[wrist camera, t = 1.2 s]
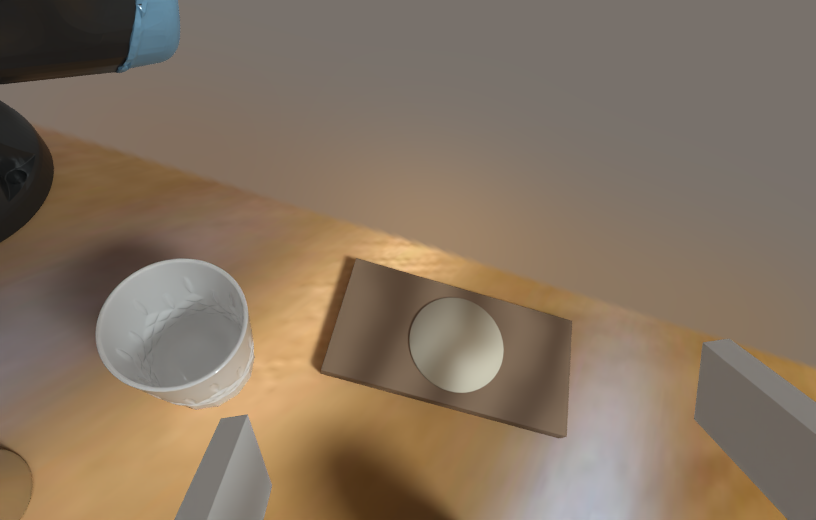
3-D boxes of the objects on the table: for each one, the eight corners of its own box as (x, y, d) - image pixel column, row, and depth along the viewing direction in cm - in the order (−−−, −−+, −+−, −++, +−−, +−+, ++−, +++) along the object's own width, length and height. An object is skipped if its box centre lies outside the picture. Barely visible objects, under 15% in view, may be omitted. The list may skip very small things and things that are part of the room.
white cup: (199, 296, 37) (166, 235, 28) (283, 346, 36) (275, 300, 28) (125, 382, 33) (59, 342, 24) (217, 439, 33) (183, 420, 24)
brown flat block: (320, 373, 36) (321, 369, 35) (355, 264, 41) (356, 257, 39) (559, 438, 37) (567, 436, 36) (565, 325, 42) (573, 320, 41)
